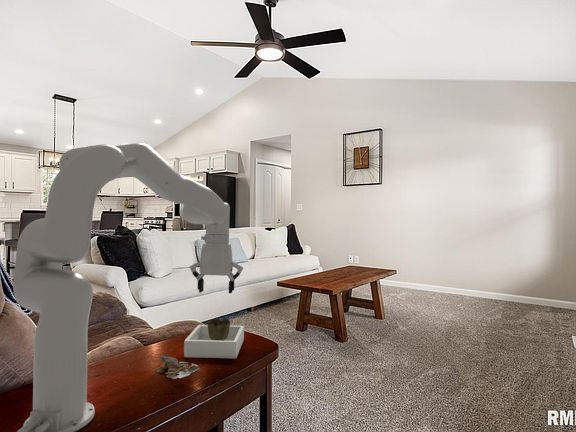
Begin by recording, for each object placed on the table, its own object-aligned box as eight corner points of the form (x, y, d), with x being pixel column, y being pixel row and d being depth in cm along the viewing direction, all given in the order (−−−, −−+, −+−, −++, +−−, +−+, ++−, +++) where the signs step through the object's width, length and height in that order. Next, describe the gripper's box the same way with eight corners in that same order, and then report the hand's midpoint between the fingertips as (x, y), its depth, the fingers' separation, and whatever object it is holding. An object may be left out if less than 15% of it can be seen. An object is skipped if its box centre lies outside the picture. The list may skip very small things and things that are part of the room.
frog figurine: (142, 375, 98) (143, 361, 98) (175, 360, 108) (175, 347, 108) (174, 385, 92) (174, 370, 92) (205, 368, 103) (205, 354, 103)
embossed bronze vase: (232, 341, 121) (232, 318, 121) (226, 349, 113) (227, 324, 113) (210, 340, 121) (211, 317, 121) (203, 348, 114) (204, 323, 114)
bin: (236, 358, 109) (236, 342, 109) (184, 357, 109) (184, 340, 109) (243, 340, 125) (244, 325, 125) (198, 339, 125) (198, 324, 125)
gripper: (187, 239, 114) (186, 293, 113) (241, 241, 113) (240, 295, 113) (194, 238, 121) (192, 289, 121) (245, 239, 121) (243, 290, 120)
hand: (215, 292), depth 117 cm, fingers open, 9 cm apart
